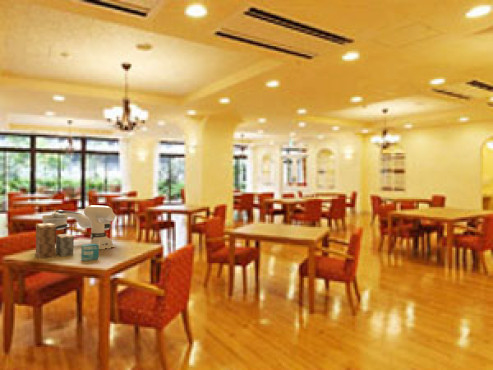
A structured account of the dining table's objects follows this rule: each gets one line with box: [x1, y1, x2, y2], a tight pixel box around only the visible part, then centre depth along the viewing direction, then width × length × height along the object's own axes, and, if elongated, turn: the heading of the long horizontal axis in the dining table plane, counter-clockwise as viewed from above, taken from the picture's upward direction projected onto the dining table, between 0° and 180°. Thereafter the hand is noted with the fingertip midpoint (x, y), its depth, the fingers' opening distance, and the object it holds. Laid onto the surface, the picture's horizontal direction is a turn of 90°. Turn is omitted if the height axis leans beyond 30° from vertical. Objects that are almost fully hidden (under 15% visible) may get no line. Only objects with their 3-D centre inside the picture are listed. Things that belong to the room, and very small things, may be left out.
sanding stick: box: [52, 211, 65, 218], centre depth 319 cm, size 4×22×3 cm, turn 42°
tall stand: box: [35, 223, 57, 259], centre depth 295 cm, size 11×13×26 cm
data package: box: [80, 243, 100, 262], centre depth 288 cm, size 12×4×12 cm, turn 128°
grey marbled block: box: [55, 233, 75, 257], centre depth 305 cm, size 10×13×16 cm
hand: (57, 214), depth 322 cm, fingers closed on sanding stick, 4 cm apart
